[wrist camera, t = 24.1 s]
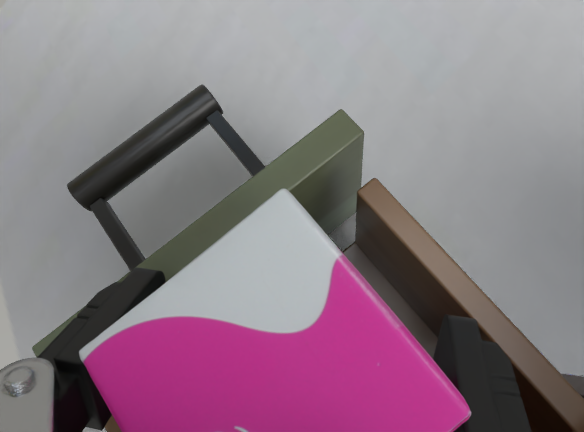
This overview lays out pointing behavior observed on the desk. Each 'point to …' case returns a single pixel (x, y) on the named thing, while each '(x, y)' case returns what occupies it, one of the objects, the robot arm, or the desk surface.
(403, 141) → the desk surface
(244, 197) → the drawer
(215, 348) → the supplement box
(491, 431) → the robot arm
